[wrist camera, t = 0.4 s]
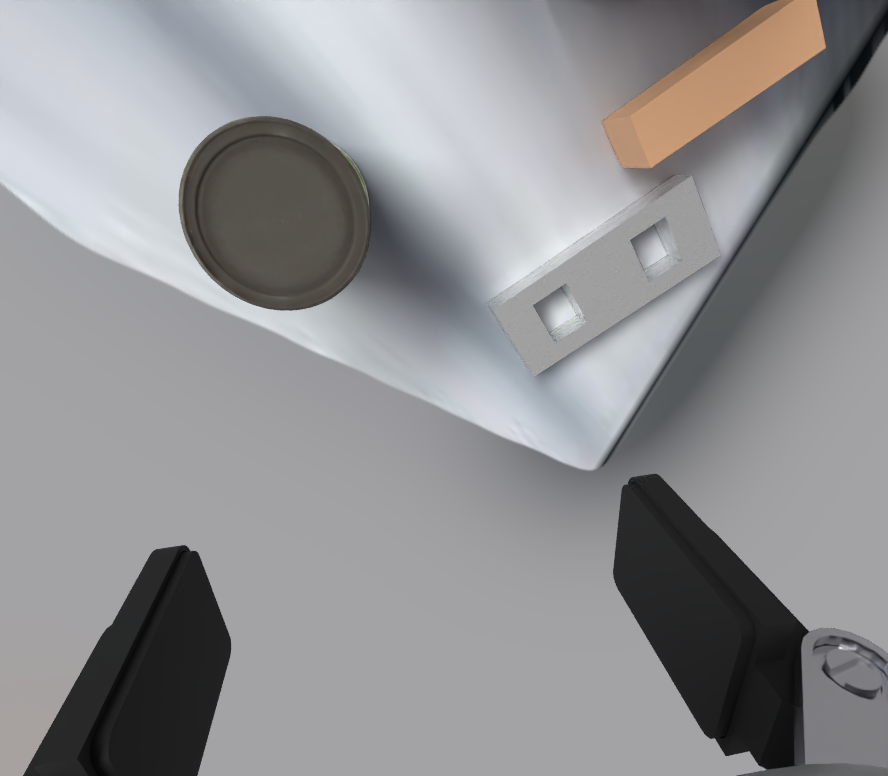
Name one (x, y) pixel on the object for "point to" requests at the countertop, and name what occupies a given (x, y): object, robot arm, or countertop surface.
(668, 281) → the flat gray board
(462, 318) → the countertop surface
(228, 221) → the coffee can
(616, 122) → the orange pronged block
